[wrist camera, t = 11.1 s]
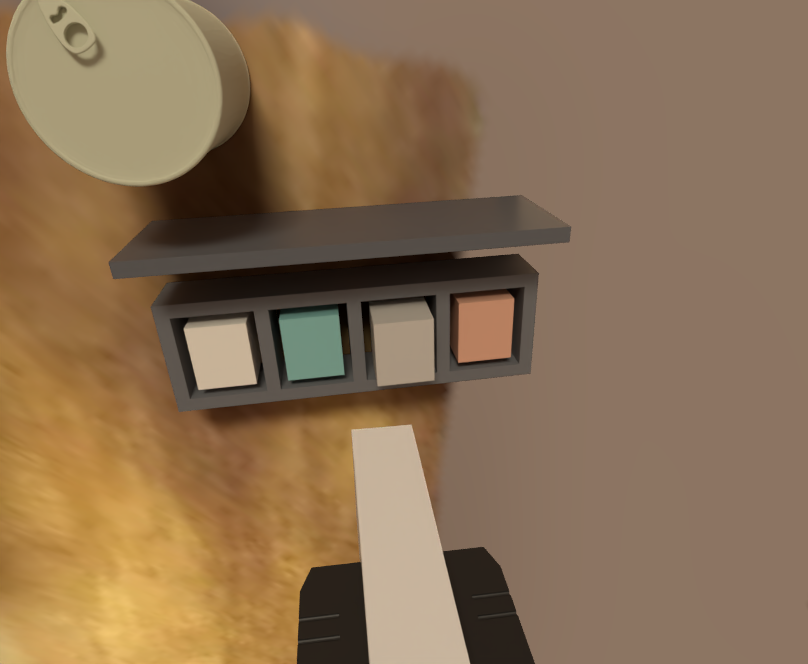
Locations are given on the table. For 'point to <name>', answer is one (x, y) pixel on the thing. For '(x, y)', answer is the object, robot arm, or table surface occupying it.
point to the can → (127, 84)
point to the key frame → (350, 289)
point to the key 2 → (312, 341)
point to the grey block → (402, 341)
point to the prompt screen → (335, 235)
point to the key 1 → (224, 349)
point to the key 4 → (481, 325)
